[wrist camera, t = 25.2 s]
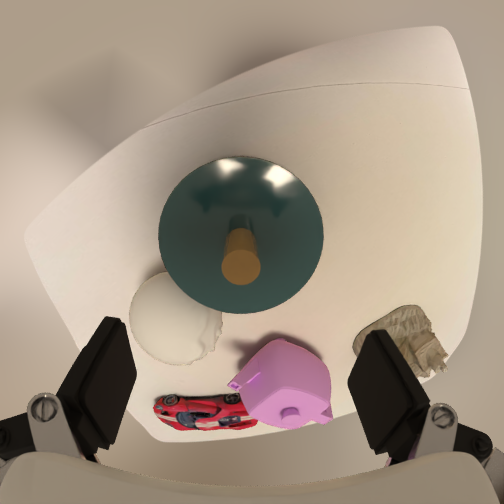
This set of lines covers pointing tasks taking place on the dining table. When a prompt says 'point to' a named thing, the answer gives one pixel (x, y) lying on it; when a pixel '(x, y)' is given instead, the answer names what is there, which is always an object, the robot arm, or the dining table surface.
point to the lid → (240, 235)
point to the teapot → (285, 386)
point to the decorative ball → (172, 322)
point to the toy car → (219, 408)
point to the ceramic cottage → (410, 339)
